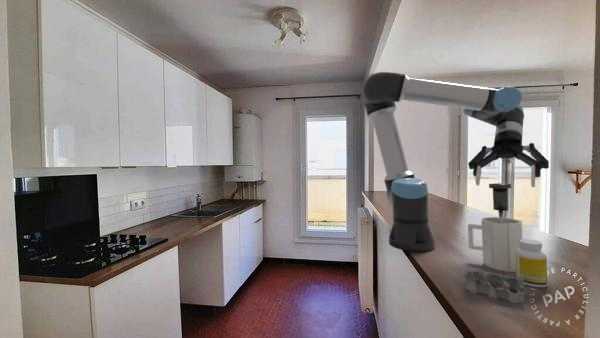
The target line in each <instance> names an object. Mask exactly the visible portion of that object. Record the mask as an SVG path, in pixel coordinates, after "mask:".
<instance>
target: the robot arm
mask: <svg viewBox="0 0 600 338" xmlns="http://www.w3.org/2000/svg"><path fill="white" fill-rule="evenodd" d="M363 83H364V84H363V87H362V97H361V99H362V104H363V106H364V108H365V111H366V115H367V118H369V119H371V120H372V122H373V123H372V124H373V126H374V131H375V134H376V138H377V142H378V146H379V149H380V150H379V151H380V154H381V157H382V161H383V162H382V163H383V165H384V166H383V167H384V169H385V173H386V175H385V177H384V179H383V180H384V181H383V182H384V184H385V189H386V196H387V199H388V201H389V202H390V203H391V205H392V225H391V229H390V231H389V232H390V233H389V236H388V244H389V245H390V246H391V247H392V248H395V249H398V250H402V251H407V252H408V251H409V252H428V251H432V250H434V249H436V239H435V237H434V233H433V231H432V229H431V226H430V224H429V223H430V219H429V195H428V193H429V189H428V184H427V182H426V181H425V180H424V179H420V178H416V177H415V174H414V172H413V171H411V170H409V168H408V167H409V166H408V164H407V163H408V162H407V160H406V159H407V158H406V156H405V152H404V148H403V143H402V140H401V137H400V133H399V129H398V126H397V122H396V121H397V120H396V118H395V113H394V112H395V111H396V109H397V106H396V102H397V103H400V102H402V101H409V102H414V103H415V102H416V103H423V104H424V103H425V104H431V105H438V106H445V107H450V108H458V109H462V113H463V114H464V115H466V116H468V117H470V118H473V119H476V120H479V121H480V122H483V123H486V124H489V125H492V126H494V127H495V135H494V140H493V145H492V147H487V146H486V145H483V146H482V147H481V148H480V149H481V150H480V151H479V152H478V153H477V154H476V155H475V156H474V157H473V158H472V159H471V160H469V162H468V164H467V165H468V168H469V170H472V171H473V172H472V174H473V175H472V176H473V177H475V179H474V181H475V185H476V186H480V182H481V178H482V177H481V176H482V173H483V172H482V169H483V168H484V167H486V166H487V165H489V164H490V163H492V162H494V161H497V160H499V159H501V160H502V159H513V158H514V159H517V160H520V161H521V162H523V163H524V164H526V165H527V166H529V167H530V168H531V170H530V172H531V173H530V174H531V176H530V177H531V178H530V184H531V188H536V178H541V170H542V169H545V170H546V169H549V167H550V163H549V162H550V161H549V160H548V159H546V157H545V156H544V155H543V154H542V153H541V152H540V151H539V150H538V149H537V148H536V147H535V143H534V142H530V143H529V144H528V145H523V133H524V119H525V112H524V108H523V107H522V106H521V105H520V104H521V102H522V99H523V96H522V92H521V91H520V89H518V88H517V87H514V86H505V87H500V88H498V89H497V88H491V87H483V86H473V85H465V84H460V83H459V84H458V83H451V82H442V81H436V80H428V79H422V78H421V79H420V78H414V77H408V75H407V74H406V73H397V72H391V71H390V72H389V71H388V72H387V71H380V72H375V73H373V74H372V75H370V76H369V77H367V78H366V79H365V82H363ZM524 151H526V152H527V153H529V155H528V154H527V153H525V152H524ZM531 156H532V157H531Z"/></svg>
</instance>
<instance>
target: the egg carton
mask: <svg viewBox="0 0 600 338" xmlns="http://www.w3.org/2000/svg"><path fill="white" fill-rule="evenodd" d="M463 277H464V280H465V290H467V291H469V292H470V293H472V294H477V295H478V294H484V295H487V296H488V297H489V298H493V299H498V298H500V297H502V298H501V299H505V300H507V301H509V302H510V303H513V304H517V303H518V304H519V303H523V304H524V303H525V284H524V279H523V277H516V276H514V275H513V276H510V275H507V274H506V275H503V274H502V273H495V272H489V271H485V270H483V269H480V268H472V269H469V270H467V272H466V274H464V276H463ZM494 286H495V287H494ZM511 290H513V291H515V292H516V293H515V292H511Z"/></svg>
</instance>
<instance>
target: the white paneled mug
mask: <svg viewBox="0 0 600 338" xmlns="http://www.w3.org/2000/svg"><path fill="white" fill-rule="evenodd" d="M503 218H504V223H499V216H492V217H490V216H489V217H483V218H482V219H481V224H476V223H475V224H473V223H468V224H467V236H468V238H467V239H468V241H467V242H468V249H470V250H477V251H481V252H482V261H483V263H484V265H485V266H486V267H488V268H491V269H493V270H496V271H501V272H507V273H516V250H517V249H518V248H521V247H520V246H519V240H521V239H524V238H523V221H522V220H519V219H515V218H510V217H503ZM474 230H480V231H481V238H482V241H481V243H482V245H480V244H475V243H474Z"/></svg>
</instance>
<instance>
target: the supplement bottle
mask: <svg viewBox="0 0 600 338" xmlns="http://www.w3.org/2000/svg"><path fill="white" fill-rule="evenodd" d="M519 246H520V247H521V248H518V249H517V250H516V272H515V275H516V276H515V277H523V279H524V286H528V287H533V288H546V287H547V286H548V262H547V260H548V257H547V255H546V253H545V252H544V251H542V250H543V243H542V242H541V241H539V240H536V239H528V238H523V239H521V240H519Z"/></svg>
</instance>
